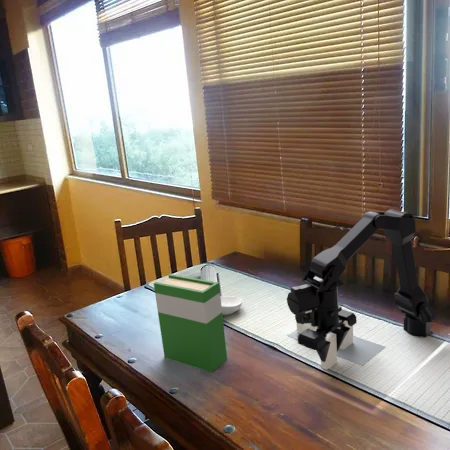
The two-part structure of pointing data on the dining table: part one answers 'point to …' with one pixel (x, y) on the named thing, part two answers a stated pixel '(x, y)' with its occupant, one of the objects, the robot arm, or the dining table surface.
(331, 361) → the domino
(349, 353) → the domino board
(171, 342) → the hardback book
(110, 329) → the dining table surface
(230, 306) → the spoon rest
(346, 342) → the domino
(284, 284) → the dining table surface
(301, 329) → the domino
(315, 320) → the robot arm
